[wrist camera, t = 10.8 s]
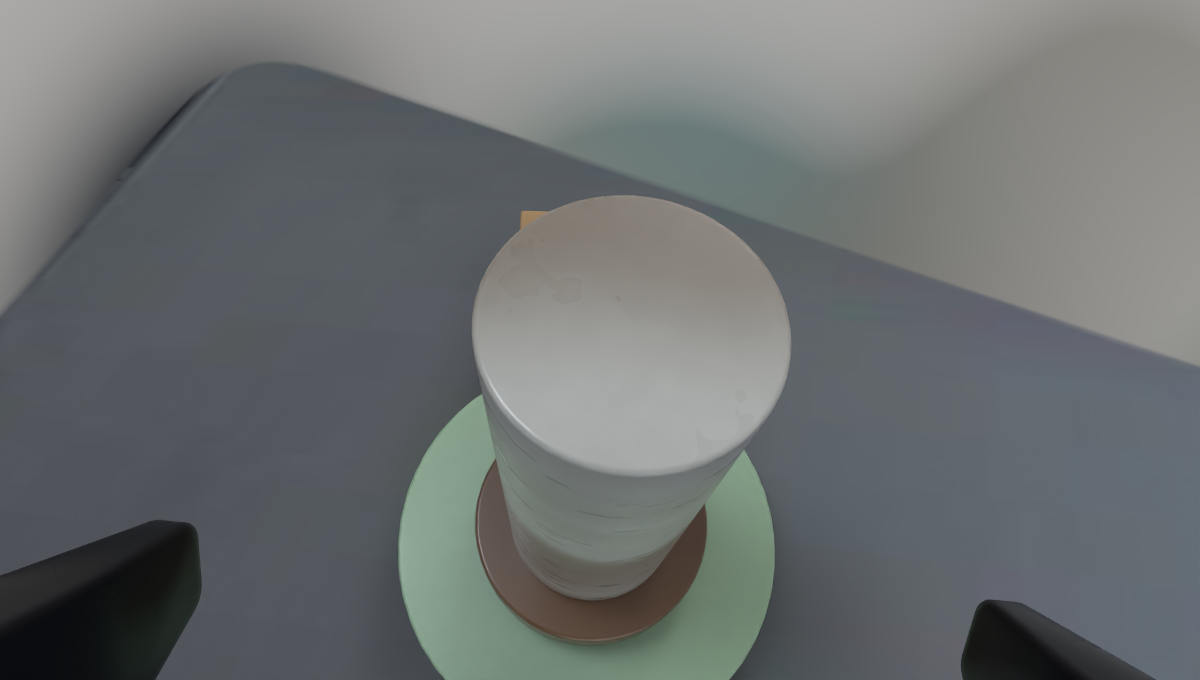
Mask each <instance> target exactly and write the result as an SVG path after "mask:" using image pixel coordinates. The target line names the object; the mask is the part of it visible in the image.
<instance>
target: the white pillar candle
mask: <svg viewBox="0 0 1200 680" xmlns="http://www.w3.org/2000/svg"><path fill="white" fill-rule="evenodd" d="M471 339H472V346H473V353H474V359H475V363H476V368H477V373H478V377H479V382H480V387H481V391H482V396H483V400H484V405H485V410H486V414H487V419H488V424H489V428H490V433H491V437H492V442H493V447H494V451H495V456H496V458H495V460H494V461H493V463H492V465H491V466H490V468H489V470H488V472H487V474H486V476H485V478H484V481H483V483H482V485H481V489H480V492H479V496H478V500H477V506H476V513H475V536H476V544H477V549H478V553H479V557H480V561H481V564H482V566H483V569H484V571H485V573H486V576H487V578H488V580H489V582H490V584H491V586H492V588H493V589H494V591H495V593H496V595H497V596H498V598H499V599H500V600H501V602H502V603H503V604H504V605H505V607H506V608H507V609H508V610H509V611H510V612H511V613H512V614H513V615H514V616H515V617H516V618H517V619H518V620H520V621H521V622H522V623H524V624H525V625H526V626H528V627H529V628H530V629H532V630H534V631H536V632H538V633H540V634H541V635H543V636H545V637H548V638H551V639H553V640H556V641H559V642H563V643H568V644H572V645H582V646H598V645H608V644H612V643H617V642H621V641H624V640H627V639H629V638H632V637H635V636H637V635H639V634H641V633H642V632H644V631H646V630H648V629H650V628H651V627H652V626H654V625H655V624H656V623H658V622H659V621H660V620H662V619H663V618H664V617H665V616H666V615H668V614H669V613H670V612H671V611H672V610H673V609H674V608H675V607H676V606H677V605H678V604H679V602H680V601H681V600H682V598H683V597H684V596H685V595H686V593H687V592H688V590H689V589H690V587H691V585H692V583H693V582H694V580H695V578H696V576H697V573H698V571H699V568H700V566H701V563H702V560H703V556H704V552H705V548H706V539H707V514H706V507H705V502H706V501H707V500H708V498H709V497H710V496H711V494H712V493H713V492H714V490H715V489H716V487H717V486H718V485H719V483H720V482H721V481H722V479H723V478H724V477H725V475H726V474H727V473H728V471H729V470H730V468H731V467H732V466H733V464H734V463H735V462H736V460H737V459H738V458H739V456H740V455H741V453H742V452H743V451H744V449H745V448H746V447H747V445H748V444H749V443H750V441H751V440H752V438H753V437H754V436H755V434H756V433H757V432H758V430H759V429H760V428H761V426H762V425H763V423H764V422H765V421H766V419H767V418H768V417H769V415H770V414H771V412H772V410H773V408H774V407H775V405H776V403H777V402H778V400H779V398H780V395H781V393H782V390H783V388H784V385H785V383H786V380H787V375H788V371H789V366H790V359H791V332H790V324H789V319H788V315H787V311H786V306H785V304H784V301H783V298H782V296H781V293H780V290H779V288H778V286H777V284H776V283H775V281H774V279H773V277H772V275H771V273H770V272H769V270H768V269H767V268H766V266H765V265H764V263H763V262H762V261H761V259H760V258H759V257H758V256H757V255H756V254H755V252H754V251H753V250H752V249H751V248H750V247H749V246H748V245H747V244H746V243H745V242H744V241H743V240H741V239H740V238H739V237H738V236H737V235H736V234H735V233H733V232H732V231H730V230H729V229H728V228H726V227H725V226H723V225H722V224H720V223H719V222H717V221H715V220H714V219H712V218H710V217H708V216H706V215H704V214H703V213H700V212H698V211H696V210H693V209H691V208H688V207H686V206H683V205H680V204H677V203H673V202H670V201H667V200H662V199H656V198H651V197H643V196H632V195H615V196H603V197H595V198H589V199H585V200H580V201H576V202H573V203H570V204H567V205H564V206H561V207H558V208H556V209H554V210H552V211H550V212H544V211H522V212H521V220H520V231H519V232H517V233H516V234H515V235H514V236H513V237H512V238H511V239H510V240H509V241H508V242H507V243H506V244H505V245H504V246H503V247H502V248H501V250H500V251H499V252H498V254H497V255H496V256H495V258H494V259H493V261H492V262H491V264H490V265H489V267H488V268H487V270H486V272H485V274H484V276H483V278H482V280H481V282H480V285H479V288H478V291H477V294H476V297H475V301H474V307H473V313H472V323H471Z"/></svg>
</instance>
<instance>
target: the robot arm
mask: <svg viewBox="0 0 1200 680" xmlns="http://www.w3.org/2000/svg"><path fill="white" fill-rule="evenodd" d="M201 586H202V582H201V568H200V555H199V541H198V534H197V531H196V529H195V527H194V526H193V525H191V524H190V523H186V522H176V521H165V520H153V521H150V522H147V523H144V524H142V525H139V526H136V527H133V528H131V529H128V530H125V531H122V532H120V533H117V534H114V535H111V536H109V537H106V538H103V539H100V540H98V541H95V542H92V543H89V544H87V545H84V546H81V547H78V548H76V549H73V550H70V551H67V552H65V553H62V554H59V555H56V556H54V557H51V558H48V559H45V560H42V561H40V562H37V563H34V564H31V565H29V566H26V567H23V568H20V569H18V570H15V571H12V572H9V573H7V574H4V575H1V576H0V680H155V679H156V677H157V676H158V674H159V672H160V670H161V669H162V667H163V665H164V663H165V662H166V660H167V658H168V656H169V655H170V653H171V651H172V649H173V648H174V646H175V644H176V642H177V641H178V639H179V637H180V635H181V633H182V632H183V630H184V628H185V626H186V625H187V623H188V621H189V619H190V618H191V616H192V614H193V612H194V611H195V609H196V607H197V604H198V601H199V598H200V594H201ZM961 672H962V677H963V680H1156V679H1154V678H1152V677H1150V676H1149V675H1147V674H1145V673H1143V672H1142V671H1140V670H1138V669H1136V668H1135V667H1133V666H1131V665H1129V664H1128V663H1126V662H1124V661H1122V660H1121V659H1119V658H1117V657H1115V656H1114V655H1112V654H1110V653H1108V652H1107V651H1105V650H1103V649H1101V648H1100V647H1098V646H1096V645H1094V644H1093V643H1091V642H1089V641H1087V640H1086V639H1084V638H1082V637H1080V636H1079V635H1077V634H1075V633H1073V632H1072V631H1070V630H1068V629H1066V628H1065V627H1063V626H1061V625H1059V624H1058V623H1056V622H1054V621H1052V620H1051V619H1049V618H1047V617H1045V616H1044V615H1042V614H1040V613H1038V612H1037V611H1035V610H1033V609H1031V608H1029V607H1028V606H1026V605H1024V604H1022V603H1018V602H1011V601H1000V600H985V601H983V602H981V603H980V604H979V605H978V607H977V609H976V611H975V614H974V618H973V621H972V624H971V627H970V631H969V634H968V637H967V641H966V644H965V647H964V651H963V654H962V659H961Z"/></svg>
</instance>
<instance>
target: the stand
mask: <svg viewBox="0 0 1200 680" xmlns="http://www.w3.org/2000/svg"><path fill="white" fill-rule="evenodd" d="M495 458H496V456H495V451H494V447H493V442H492V437H491V433H490V428H489V424H488V419H487V414H486V410H485V405H484V400H483V396H482V394H481V395H480V396H478V397H477V398H475V399H474V400H472V401H471V402H470V403H469V404H468V405H466V406H465V407H464V408H463V409H462V410H461V411H459V412H458V413H457V414H456V415H455V416H454V417H453V418H452V419H451V421H450V422H449V423H448V424H447V425H446V426H445V427H444V428H443V429H442V430H441V431H440V433H439V434H438V436H437V437H436V439H435V440H434V441H433V443H432V444H431V446H430V447H429V448H428V450H427V451H426V453H425V455H424V457H423V459H422V461H421V463H420V464H419V466H418V468H417V470H416V472H415V474H414V477H413V480H412V482H411V485H410V487H409V490H408V493H407V495H406V499H405V504H404V508H403V512H402V516H401V521H400V530H399V539H398V571H399V577H400V584H401V590H402V596H403V600H404V603H405V607H406V610H407V613H408V617H409V620H410V623H411V625H412V627H413V629H414V632H415V634H416V636H417V638H418V640H419V643H420V645H421V647H422V648H423V650H424V652H425V653H426V655H427V656H428V658H429V659H430V661H431V663H432V664H433V666H434V667H435V669H436V670H437V671H438V673H439V674H440V675H441V676H442V677H443V678H444V680H730V679H731V677H732V676H733V675H734V674H735V672H736V671H737V670H738V668H739V667H740V666H741V664H742V663H743V662H744V660H745V658H746V656H747V654H748V653H749V651H750V649H751V647H752V646H753V644H754V642H755V640H756V638H757V636H758V633H759V631H760V628H761V626H762V623H763V621H764V618H765V616H766V612H767V608H768V604H769V600H770V596H771V592H772V586H773V577H774V569H775V540H774V533H773V525H772V518H771V513H770V510H769V506H768V502H767V499H766V495H765V492H764V489H763V487H762V484H761V482H760V479H759V477H758V474H757V472H756V470H755V468H754V466H753V464H752V463H751V461H750V459H749V457H748V455H747V454H746V452H745V450H744V451H743V452H742V453H741V455H740V456H739V458H738V459H737V460H736V462H735V463H734V464H733V466H732V467H731V468H730V470H729V471H728V473H727V474H726V475H725V477H724V478H723V479H722V481H721V482H720V483H719V485H718V486H717V487H716V489H715V490H714V492H713V493H712V494H711V496H710V497H709V498H708V500H707V501H706V502H705V507H706V514H707V539H706V548H705V552H704V556H703V560H702V563H701V566H700V568H699V571H698V573H697V576H696V578H695V580H694V582H693V583H692V585H691V587H690V589H689V590H688V592H687V593H686V595H685V596H684V597H683V598H682V600H681V601H680V602H679V604H678V605H677V606H676V607H675V608H674V609H673V610H672V611H671V612H670V613H669V614H668V615H666V616H665V617H664V618H663V619H662V620H660V621H659V622H658V623H656V624H655V625H654V626H652V627H651V628H650V629H648V630H646V631H644V632H642V633H641V634H639V635H637V636H635V637H632V638H629V639H627V640H624V641H621V642H617V643H612V644H608V645H598V646H582V645H572V644H568V643H563V642H559V641H556V640H553V639H551V638H548V637H545V636H543V635H541V634H540V633H538V632H536V631H534V630H532V629H530V628H529V627H528V626H526V625H525V624H524V623H522V622H521V621H520V620H518V619H517V618H516V617H515V616H514V615H513V614H512V613H511V612H510V611H509V610H508V609H507V608H506V607H505V605H504V604H503V603H502V602H501V600H500V599H499V598H498V596H497V595H496V593H495V591H494V589H493V588H492V586H491V584H490V582H489V580H488V578H487V576H486V573H485V571H484V569H483V566H482V564H481V561H480V557H479V553H478V549H477V544H476V536H475V513H476V506H477V500H478V496H479V492H480V489H481V485H482V483H483V481H484V478H485V476H486V474H487V472H488V470H489V468H490V466H491V465H492V463H493V461H494V460H495Z"/></svg>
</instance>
